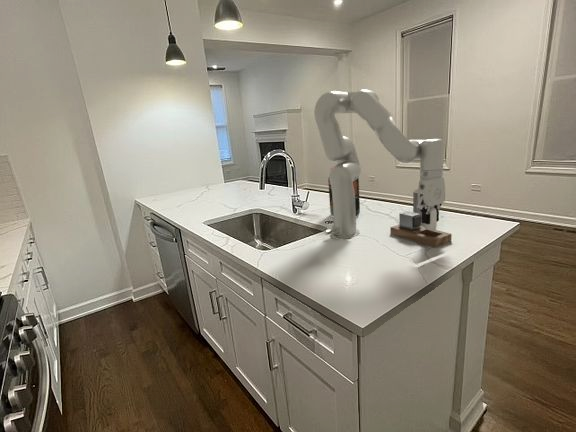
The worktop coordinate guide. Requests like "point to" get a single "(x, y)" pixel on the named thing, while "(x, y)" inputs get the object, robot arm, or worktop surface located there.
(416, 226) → the block
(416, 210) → the pillar candle
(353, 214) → the robot arm
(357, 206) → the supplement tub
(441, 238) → the wooden tray
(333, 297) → the worktop surface
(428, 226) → the eye dropper bottle
